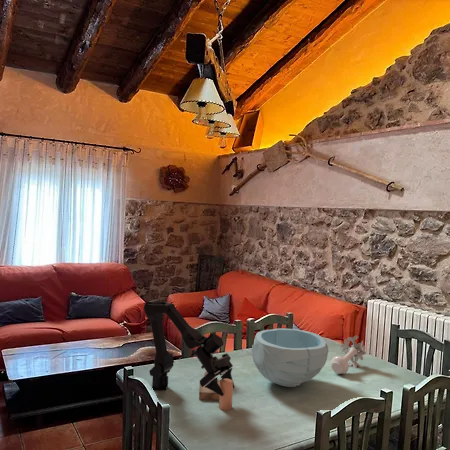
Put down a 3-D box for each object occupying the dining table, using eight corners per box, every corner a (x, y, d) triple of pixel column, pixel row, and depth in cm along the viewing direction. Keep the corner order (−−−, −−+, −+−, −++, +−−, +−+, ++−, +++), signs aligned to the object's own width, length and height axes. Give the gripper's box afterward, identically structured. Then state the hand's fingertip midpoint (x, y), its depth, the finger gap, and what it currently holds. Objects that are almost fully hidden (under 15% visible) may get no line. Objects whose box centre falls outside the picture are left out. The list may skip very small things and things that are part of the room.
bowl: (300, 367, 229) (302, 326, 228) (340, 395, 196) (343, 347, 195) (239, 373, 216) (241, 330, 215) (271, 404, 183) (274, 353, 183)
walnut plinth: (199, 399, 185) (199, 392, 185) (199, 387, 197) (199, 381, 197) (226, 399, 186) (227, 392, 186) (225, 388, 198) (225, 381, 198)
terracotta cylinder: (218, 410, 176) (220, 383, 175) (218, 404, 181) (219, 378, 181) (232, 410, 176) (233, 384, 176) (231, 404, 182) (232, 378, 181)
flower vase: (345, 389, 219) (367, 365, 236) (349, 359, 212) (371, 337, 230) (322, 377, 227) (345, 355, 245) (326, 348, 221) (348, 327, 238)
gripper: (207, 354, 172) (230, 389, 167) (229, 343, 188) (251, 373, 183) (190, 370, 176) (212, 403, 171) (213, 357, 192) (234, 387, 187)
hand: (228, 391), depth 178 cm, fingers open, 9 cm apart
